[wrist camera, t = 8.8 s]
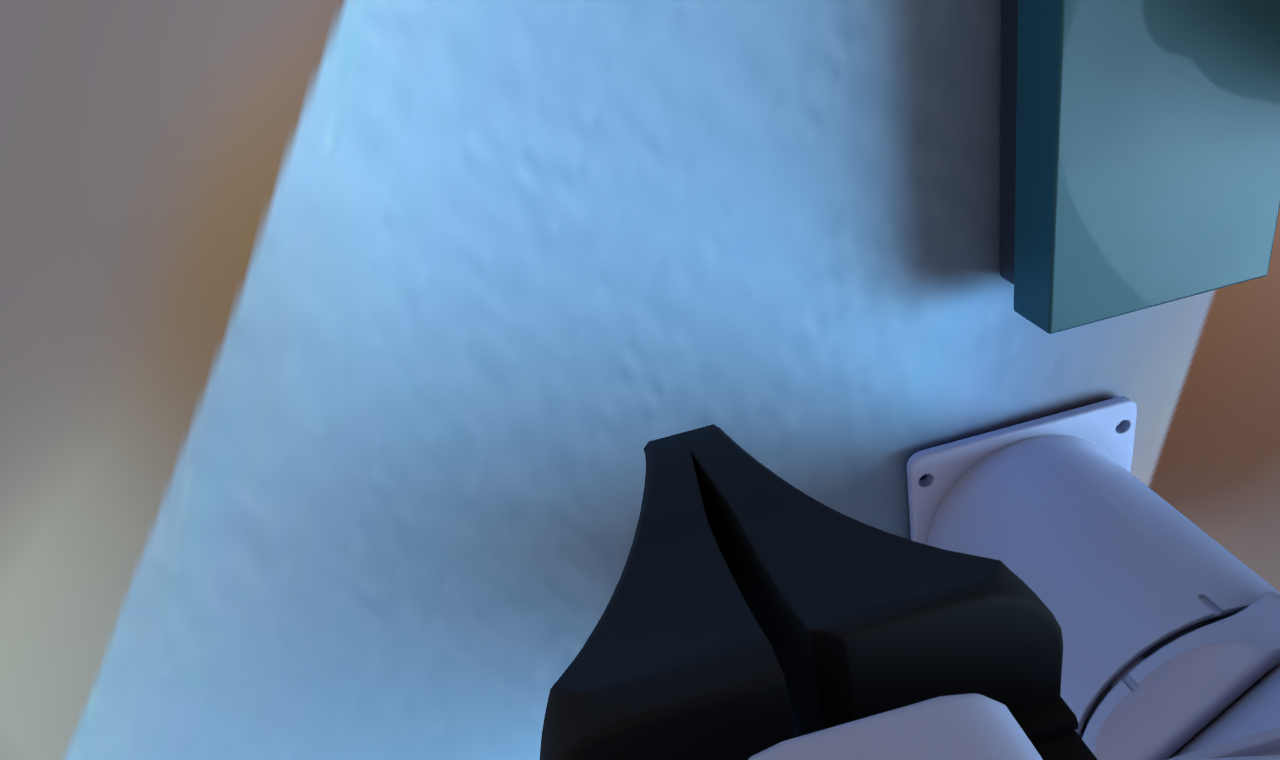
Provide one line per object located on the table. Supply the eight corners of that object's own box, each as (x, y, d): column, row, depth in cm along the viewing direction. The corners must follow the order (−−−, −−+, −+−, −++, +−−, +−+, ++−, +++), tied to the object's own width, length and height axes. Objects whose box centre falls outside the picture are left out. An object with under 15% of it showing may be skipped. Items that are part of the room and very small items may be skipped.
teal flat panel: (1187, 243, 25) (1268, 276, 23) (990, 296, 25) (1049, 335, 22) (1247, -242, 19) (1366, -274, 17) (989, -181, 19) (1069, -204, 16)
